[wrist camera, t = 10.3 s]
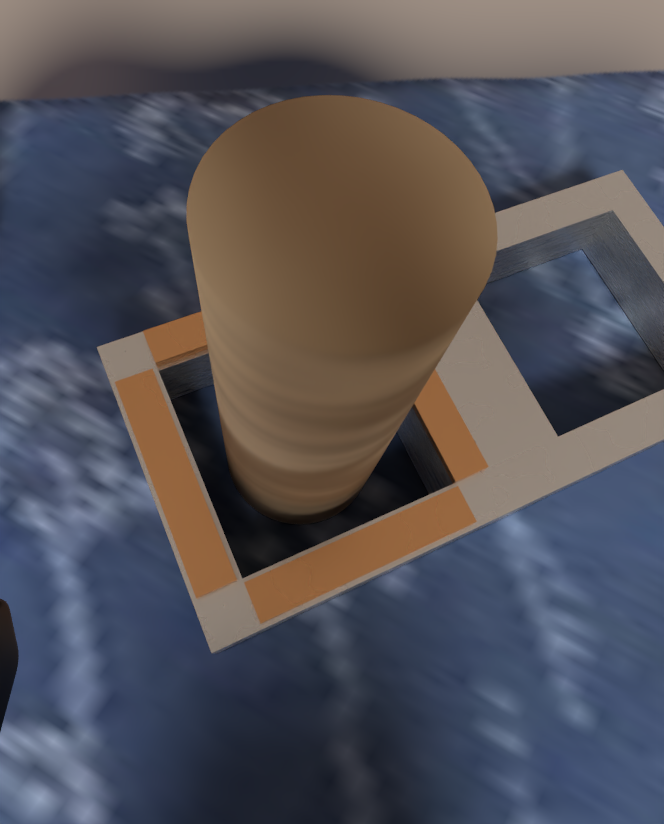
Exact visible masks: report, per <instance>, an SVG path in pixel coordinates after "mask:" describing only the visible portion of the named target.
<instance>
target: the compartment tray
mask: <svg viewBox="0 0 664 824" xmlns="http://www.w3.org/2000/svg"><path fill="white" fill-rule="evenodd" d="M495 216H496V221H497V237H498V241H497V250H496V257H495V261H494V265H493V268H492V272H491V274H490V277H489V279H488V281H487V283H490V282H493V281H495V280H498V279H501V278H504V277H506V276H509V275H512V274H514V273H517V272H520V271H523V270H525V269H528V268H531V267H533V266H536V265H539V264H542V263H544V262H547V261H550V260H553V259H555V258H558V257H561V256H563V255H566V254H569V253H572V252H574V251H577V250H580V249H583V251H584V252H585V254H586V255H587V257H588V258H589V260H590V261H591V263H592V264H593V266H594V267H595V269H596V270H597V272H598V273H599V275H600V276H601V278H602V279H603V281H604V282H605V284H606V285H607V287H608V288H609V290H610V291H611V293H612V294H613V296H614V297H615V299H616V300H617V302H618V303H619V305H620V306H621V308H622V309H623V310H624V312H625V313H626V315H627V316H628V318H629V319H630V321H631V322H632V324H633V325H634V327H635V328H636V330H637V331H638V333H639V334H640V336H641V337H642V339H643V340H644V342H645V343H646V345H647V346H648V348H649V349H650V351H651V352H652V354H653V355H654V357H655V358H656V360H657V361H658V363H659V364H660V366H661V367H662V369H663V370H664V227H663V225H662V224H661V223H660V221H659V220H658V218H657V217H656V216H655V214H654V213H653V211H652V210H651V209H650V207H649V206H648V205H647V203H646V202H645V200H644V199H643V198H642V196H641V195H640V193H639V192H638V191H637V189H636V188H635V187H634V185H633V184H632V182H631V181H630V180H629V178H628V177H627V176H626V174H625V173H624V171H623V170H621V171H618V172H615V173H612V174H609V175H606V176H603V177H600V178H597V179H594V180H591V181H588V182H585V183H582V184H579V185H576V186H573V187H570V188H567V189H564V190H561V191H558V192H555V193H552V194H550V195H547V196H544V197H541V198H538V199H535V200H532V201H529V202H526V203H523V204H520V205H517V206H514V207H511V208H508V209H505V210H502V211H499V212H496V213H495ZM487 283H486V284H487ZM97 349H98V352H99V355H100V357H101V360H102V363H103V365H104V368H105V371H106V373H107V376H108V379H109V381H110V384H111V387H112V389H113V392H114V395H115V397H116V400H117V403H118V405H119V408H120V411H121V413H122V416H123V419H124V421H125V424H126V427H127V429H128V432H129V435H130V437H131V440H132V443H133V445H134V448H135V451H136V453H137V456H138V459H139V461H140V464H141V467H142V469H143V472H144V475H145V477H146V480H147V483H148V485H149V488H150V491H151V493H152V496H153V499H154V501H155V504H156V507H157V509H158V512H159V515H160V517H161V520H162V523H163V525H164V528H165V531H166V533H167V536H168V539H169V541H170V544H171V547H172V549H173V552H174V555H175V557H176V560H177V563H178V565H179V568H180V571H181V573H182V576H183V579H184V581H185V584H186V587H187V589H188V592H189V595H190V597H191V600H192V603H193V605H194V608H195V611H196V613H197V616H198V619H199V621H200V624H201V627H202V629H203V632H204V635H205V637H206V640H207V643H208V645H209V648H210V651H211V653H215V654H217V653H220V652H222V651H224V650H226V649H228V648H230V647H232V646H234V645H236V644H238V643H241V642H243V641H245V640H247V639H249V638H251V637H253V636H255V635H257V634H260V633H262V632H264V631H266V630H268V629H270V628H272V627H274V626H276V625H279V624H281V623H283V622H285V621H287V620H289V619H291V618H293V617H295V616H297V615H300V614H302V613H304V612H306V611H308V610H310V609H312V608H314V607H316V606H319V605H321V604H323V603H325V602H327V601H329V600H331V599H333V598H335V597H338V596H340V595H342V594H344V593H346V592H348V591H350V590H352V589H354V588H356V587H359V586H361V585H363V584H365V583H367V582H369V581H371V580H373V579H375V578H378V577H380V576H382V575H384V574H386V573H388V572H390V571H392V570H394V569H396V568H399V567H401V566H403V565H405V564H407V563H409V562H411V561H413V560H415V559H418V558H420V557H422V556H424V555H426V554H428V553H430V552H432V551H434V550H437V549H439V548H441V547H443V546H445V545H447V544H449V543H451V542H453V541H455V540H458V539H460V538H462V537H464V536H466V535H468V534H470V533H472V532H474V531H477V530H479V529H481V528H483V527H485V526H487V525H489V524H491V523H493V522H495V521H498V520H500V519H502V518H504V517H506V516H508V515H510V514H512V513H514V512H517V511H519V510H521V509H523V508H525V507H527V506H529V505H531V504H533V503H536V502H538V501H540V500H542V499H544V498H546V497H548V496H550V495H552V494H554V493H557V492H559V491H561V490H563V489H565V488H567V487H569V486H571V485H573V484H576V483H578V482H580V481H582V480H584V479H586V478H588V477H590V476H592V475H594V474H597V473H599V472H601V471H603V470H605V469H607V468H609V467H611V466H613V465H616V464H618V463H620V462H622V461H624V460H626V459H628V458H630V457H632V456H635V455H637V454H639V453H641V452H643V451H645V450H647V449H649V448H651V447H653V446H656V445H658V444H660V443H662V442H664V389H663V390H661V391H659V392H656V393H654V394H652V395H650V396H647V397H645V398H643V399H641V400H639V401H636V402H634V403H632V404H630V405H627V406H625V407H623V408H621V409H619V410H616V411H614V412H612V413H610V414H607V415H605V416H603V417H601V418H599V419H596V420H594V421H592V422H590V423H587V424H585V425H583V426H581V427H578V428H576V429H574V430H572V431H570V432H567V433H565V434H563V435H561V436H557V434H556V432H555V431H554V429H553V427H552V426H551V424H550V422H549V421H548V419H547V417H546V415H545V414H544V412H543V410H542V409H541V407H540V405H539V404H538V402H537V400H536V399H535V397H534V395H533V393H532V392H531V390H530V388H529V387H528V385H527V383H526V382H525V380H524V378H523V377H522V375H521V373H520V372H519V370H518V368H517V366H516V365H515V363H514V361H513V360H512V358H511V356H510V355H509V353H508V351H507V350H506V348H505V346H504V345H503V343H502V341H501V339H500V338H499V336H498V334H497V333H496V331H495V329H494V328H493V326H492V324H491V323H490V321H489V319H488V318H487V316H486V314H485V312H484V311H483V309H482V307H481V306H480V304H479V302H478V301H476V302H475V304H474V306H473V307H472V309H471V311H470V312H469V314H468V316H467V317H466V319H465V320H464V322H463V324H462V325H461V327H460V329H459V330H458V332H457V334H456V335H455V337H454V339H453V340H452V342H451V343H450V345H449V347H448V348H447V350H446V352H445V353H444V355H443V357H442V358H441V360H440V361H439V363H438V365H437V366H436V368H435V370H434V371H433V373H432V375H431V376H430V378H429V380H428V381H427V383H426V384H425V386H424V388H423V389H422V391H421V393H420V394H419V396H418V398H417V399H416V401H415V403H414V404H413V406H412V407H411V409H410V411H409V412H408V414H407V416H406V417H405V419H404V421H403V422H402V424H401V425H400V427H399V429H398V430H397V433H398V435H399V437H400V439H401V441H402V443H403V445H404V447H405V449H406V451H407V453H408V455H409V457H410V459H411V460H412V462H413V464H414V466H415V468H416V470H417V472H418V474H419V476H420V478H421V480H422V482H423V484H424V486H425V488H426V490H427V492H428V494H429V495H427V496H425V497H423V498H421V499H418V500H416V501H414V502H412V503H409V504H407V505H405V506H403V507H400V508H398V509H396V510H394V511H392V512H389V513H387V514H385V515H383V516H380V517H378V518H376V519H374V520H372V521H369V522H367V523H365V524H363V525H360V526H358V527H356V528H354V529H352V530H349V531H347V532H345V533H343V534H340V535H338V536H336V537H334V538H332V539H329V540H327V541H325V542H323V543H320V544H318V545H316V546H314V547H311V548H309V549H307V550H305V551H303V552H300V553H298V554H296V555H294V556H291V557H289V558H287V559H285V560H283V561H280V562H278V563H276V564H274V565H271V566H269V567H267V568H265V569H263V570H260V571H258V572H256V573H254V574H251V575H249V576H247V577H245V578H243V579H242V577H241V574H240V572H239V569H238V567H237V564H236V562H235V559H234V557H233V554H232V552H231V549H230V547H229V544H228V542H227V539H226V537H225V534H224V532H223V529H222V527H221V525H220V522H219V520H218V517H217V515H216V512H215V510H214V507H213V505H212V502H211V500H210V497H209V495H208V492H207V490H206V487H205V485H204V482H203V480H202V477H201V475H200V472H199V470H198V467H197V465H196V462H195V460H194V457H193V455H192V453H191V450H190V448H189V445H188V443H187V440H186V438H185V435H184V433H183V430H182V428H181V425H180V423H179V420H178V418H177V415H176V413H175V410H174V408H173V405H172V403H171V399H174V398H177V397H179V396H182V395H185V394H188V393H190V392H193V391H196V390H199V389H201V388H204V387H207V386H209V385H212V384H214V380H213V375H212V369H211V363H210V357H209V351H208V346H207V340H206V334H205V328H204V322H203V316H202V311H201V312H198V313H195V314H192V315H189V316H186V317H183V318H180V319H177V320H174V321H171V322H168V323H165V324H162V325H159V326H156V327H153V328H150V329H147V330H144V331H143V332H140V333H137V334H134V335H131V336H128V337H125V338H122V339H119V340H116V341H113V342H110V343H107V344H104V345H101V346H98V347H97Z"/></svg>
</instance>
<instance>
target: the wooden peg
mask: <svg viewBox="0 0 664 824" xmlns="http://www.w3.org/2000/svg"><path fill="white" fill-rule="evenodd" d="M187 228H188V235H189V241H190V247H191V252H192V258H193V264H194V270H195V276H196V282H197V287H198V293H199V299H200V305H201V311H202V316H203V322H204V328H205V334H206V340H207V346H208V351H209V357H210V363H211V369H212V375H213V380H214V386H215V392H216V398H217V404H218V409H219V415H220V421H221V427H222V433H223V439H224V444H225V450H226V456H227V462H228V468H229V472H230V475H231V478H232V481H233V483H234V485H235V487H236V489H237V490H238V492H239V493H240V495H241V496H242V497H243V499H244V500H245V501H246V502H247V503H248V504H249V505H250V506H251V507H252V508H254V509H255V510H256V511H258V512H259V513H261V514H262V515H264V516H266V517H268V518H270V519H273V520H276V521H279V522H283V523H288V524H311V523H316V522H320V521H323V520H326V519H329V518H331V517H333V516H335V515H337V514H338V513H340V512H341V511H343V510H344V509H345V508H346V507H347V506H349V505H350V504H351V503H352V502H353V500H354V499H355V498H356V497H357V496H358V494H359V493H360V491H361V489H362V488H363V486H364V485H365V483H366V481H367V480H368V478H369V476H370V475H371V473H372V471H373V470H374V468H375V467H376V465H377V463H378V462H379V460H380V458H381V457H382V455H383V453H384V452H385V450H386V448H387V447H388V445H389V444H390V442H391V440H392V439H393V437H394V435H395V434H396V432H397V430H398V429H399V427H400V425H401V424H402V422H403V421H404V419H405V417H406V416H407V414H408V412H409V411H410V409H411V407H412V406H413V404H414V403H415V401H416V399H417V398H418V396H419V394H420V393H421V391H422V389H423V388H424V386H425V384H426V383H427V381H428V380H429V378H430V376H431V375H432V373H433V371H434V370H435V368H436V366H437V365H438V363H439V361H440V360H441V358H442V357H443V355H444V353H445V352H446V350H447V348H448V347H449V345H450V343H451V342H452V340H453V339H454V337H455V335H456V334H457V332H458V330H459V329H460V327H461V325H462V324H463V322H464V320H465V319H466V317H467V316H468V314H469V312H470V311H471V309H472V307H473V306H474V304H475V302H476V301H477V299H478V297H479V296H480V294H481V293H482V291H483V289H484V288H485V285H486V283H487V281H488V279H489V277H490V274H491V272H492V268H493V265H494V261H495V257H496V250H497V241H498V237H497V221H496V216H495V211H494V206H493V204H492V201H491V198H490V195H489V192H488V190H487V188H486V186H485V184H484V182H483V180H482V178H481V176H480V174H479V173H478V172H477V170H476V169H475V167H474V166H473V164H472V163H471V161H470V160H469V159H468V158H467V157H466V156H465V154H464V153H463V152H462V151H461V150H460V149H459V148H458V147H457V146H456V145H455V144H454V143H453V142H452V141H451V140H449V139H448V138H447V137H446V136H445V135H444V134H442V133H441V132H440V131H438V130H437V129H435V128H434V127H433V126H431V125H430V124H428V123H426V122H425V121H423V120H421V119H419V118H418V117H416V116H414V115H412V114H410V113H407V112H405V111H403V110H401V109H398V108H396V107H393V106H390V105H387V104H384V103H381V102H377V101H372V100H368V99H364V98H358V97H350V96H339V95H319V96H306V97H300V98H295V99H289V100H285V101H282V102H278V103H275V104H272V105H269V106H267V107H264V108H262V109H259V110H257V111H255V112H253V113H251V114H249V115H248V116H246V117H244V118H242V119H241V120H239V121H238V122H236V123H235V124H234V125H232V126H231V127H230V128H228V129H227V130H226V131H225V132H224V133H223V134H222V135H221V136H220V137H219V138H218V139H217V140H216V141H215V142H214V143H213V144H212V145H211V146H210V148H209V149H208V151H207V152H206V153H205V155H204V156H203V157H202V159H201V161H200V163H199V165H198V167H197V169H196V171H195V173H194V176H193V179H192V182H191V185H190V188H189V193H188V199H187Z"/></svg>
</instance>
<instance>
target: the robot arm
mask: <svg viewBox="0 0 664 824" xmlns="http://www.w3.org/2000/svg"><path fill="white" fill-rule="evenodd" d="M17 667H18V646H17V642H16V637H15V632H14V627H13V623H12V618H11V613H10V609H9V606H8V604H7V603H6V601H4V600H2V599H0V731H1V727H2V723H3V720H4V716H5V712H6V709H7V705H8V701H9V697H10V694H11V690H12V686H13V683H14V679H15V675H16V671H17Z"/></svg>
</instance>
